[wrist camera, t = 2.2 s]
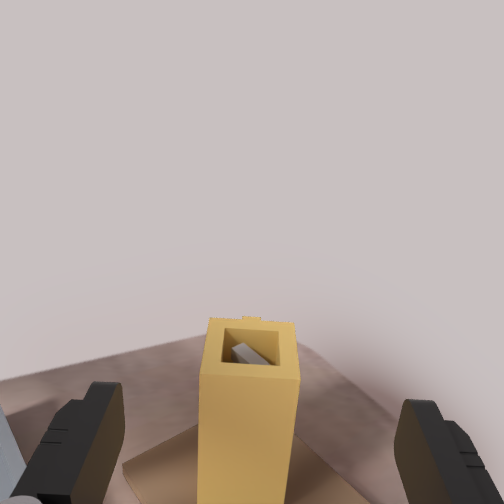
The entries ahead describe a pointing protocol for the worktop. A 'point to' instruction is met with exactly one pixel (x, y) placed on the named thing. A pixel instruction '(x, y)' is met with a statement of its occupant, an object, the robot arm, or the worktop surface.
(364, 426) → the worktop surface
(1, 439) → the tray
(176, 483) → the board
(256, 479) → the yellow open box
